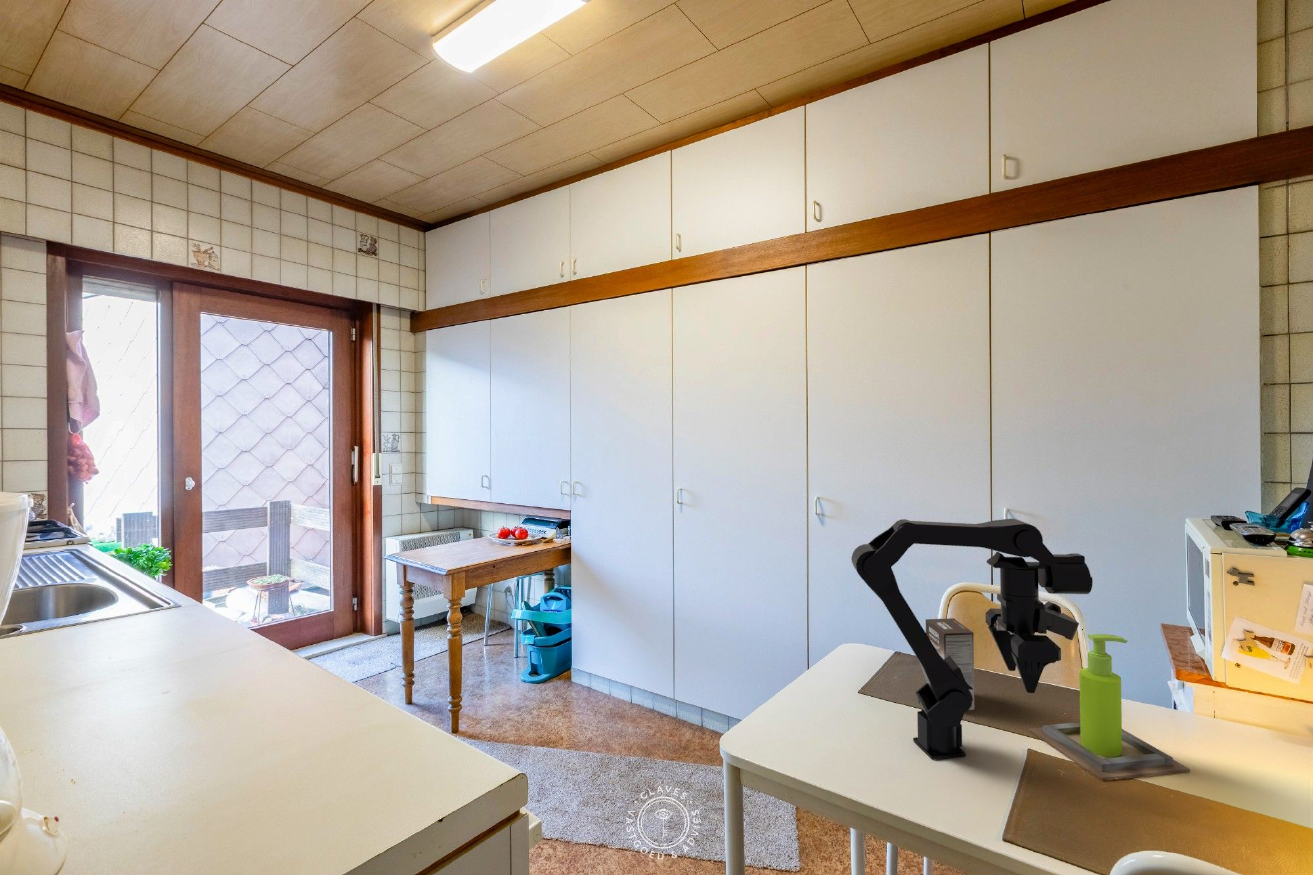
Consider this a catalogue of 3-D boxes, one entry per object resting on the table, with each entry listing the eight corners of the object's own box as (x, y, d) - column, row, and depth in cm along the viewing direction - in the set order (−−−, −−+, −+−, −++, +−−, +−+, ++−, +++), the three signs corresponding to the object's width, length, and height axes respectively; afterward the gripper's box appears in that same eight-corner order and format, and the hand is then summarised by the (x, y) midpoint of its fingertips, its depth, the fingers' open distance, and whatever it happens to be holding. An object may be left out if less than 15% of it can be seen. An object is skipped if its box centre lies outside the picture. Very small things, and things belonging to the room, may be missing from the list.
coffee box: (925, 691, 130) (923, 618, 130) (954, 690, 130) (953, 617, 130) (944, 711, 121) (943, 632, 121) (976, 710, 121) (975, 631, 121)
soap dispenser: (1136, 759, 102) (1134, 642, 101) (1091, 755, 103) (1089, 640, 103) (1117, 741, 107) (1115, 630, 107) (1074, 738, 109) (1072, 629, 108)
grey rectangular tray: (1101, 780, 97) (1101, 770, 97) (1029, 731, 113) (1029, 722, 113) (1190, 771, 98) (1189, 761, 98) (1106, 724, 114) (1106, 715, 114)
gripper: (1097, 610, 93) (1099, 709, 94) (1049, 580, 111) (1050, 663, 112) (1018, 607, 96) (1020, 704, 96) (983, 578, 114) (985, 659, 114)
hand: (1020, 681), depth 105 cm, fingers open, 9 cm apart
